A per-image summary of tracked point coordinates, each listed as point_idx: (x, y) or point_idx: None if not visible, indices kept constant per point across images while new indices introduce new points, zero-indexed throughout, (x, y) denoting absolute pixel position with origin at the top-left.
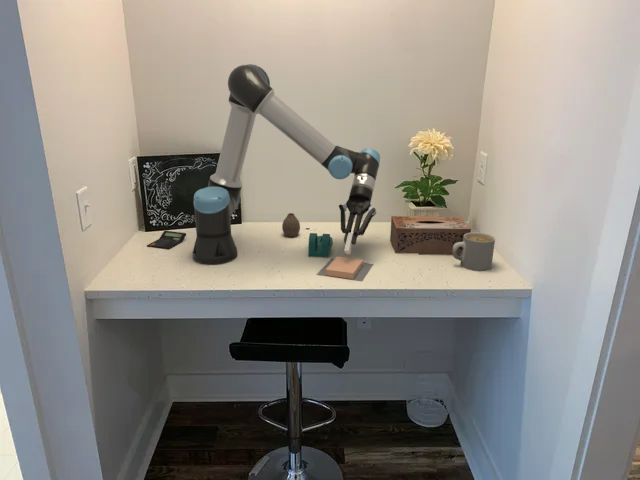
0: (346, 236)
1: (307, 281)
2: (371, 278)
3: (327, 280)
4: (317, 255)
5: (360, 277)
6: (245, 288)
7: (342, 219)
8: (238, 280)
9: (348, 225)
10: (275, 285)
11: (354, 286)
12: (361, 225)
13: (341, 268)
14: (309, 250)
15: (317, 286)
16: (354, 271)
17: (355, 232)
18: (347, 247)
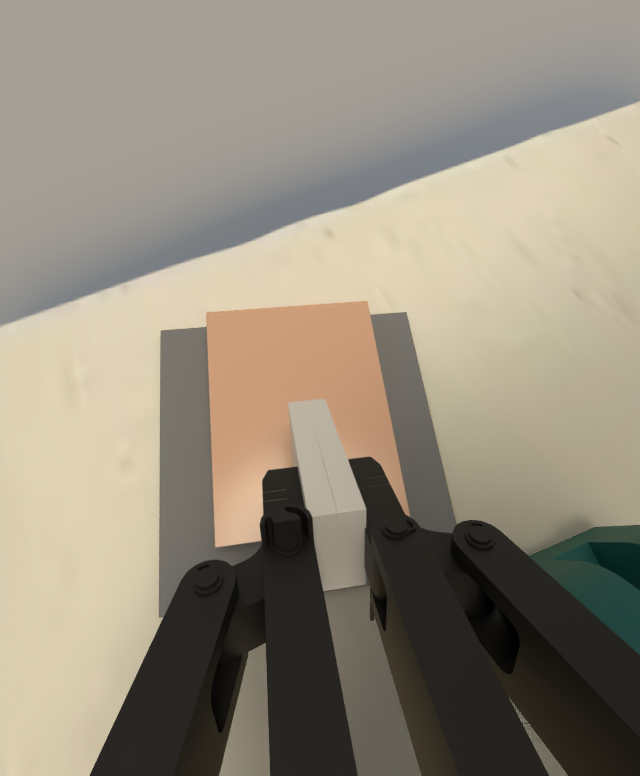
0: (373, 495)
1: (405, 252)
2: (127, 403)
3: (331, 293)
4: (559, 548)
5: (183, 371)
6: (559, 132)
7: (625, 679)
8: (632, 171)
9: (429, 600)
10: (491, 181)
11: (187, 284)
12: (205, 668)
13: (294, 344)
14: (628, 526)
15: (341, 228)
16: (207, 336)
17: (272, 520)
18: (307, 414)
